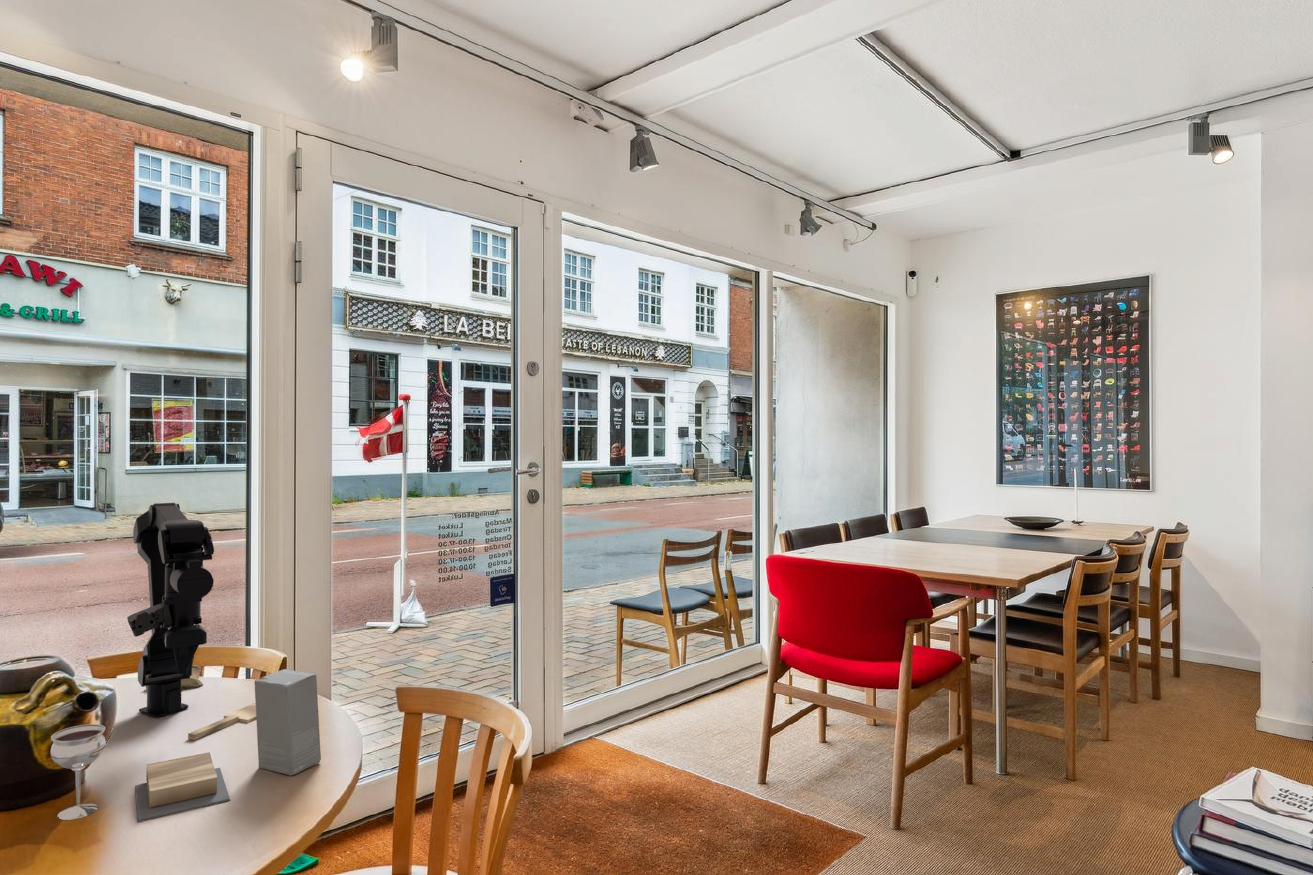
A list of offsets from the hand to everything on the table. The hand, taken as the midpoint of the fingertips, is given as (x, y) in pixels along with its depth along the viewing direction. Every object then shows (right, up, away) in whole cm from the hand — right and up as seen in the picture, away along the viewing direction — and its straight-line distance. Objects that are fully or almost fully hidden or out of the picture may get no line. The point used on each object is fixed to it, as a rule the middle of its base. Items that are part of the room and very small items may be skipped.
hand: (182, 673), depth 146 cm
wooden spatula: (+5, -12, +9) cm, 16 cm away
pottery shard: (-19, -12, +29) cm, 36 cm away
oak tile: (+9, -11, -15) cm, 21 cm away
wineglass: (+1, -13, -27) cm, 30 cm away
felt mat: (+13, -13, -21) cm, 28 cm away
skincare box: (+25, -13, -11) cm, 30 cm away
